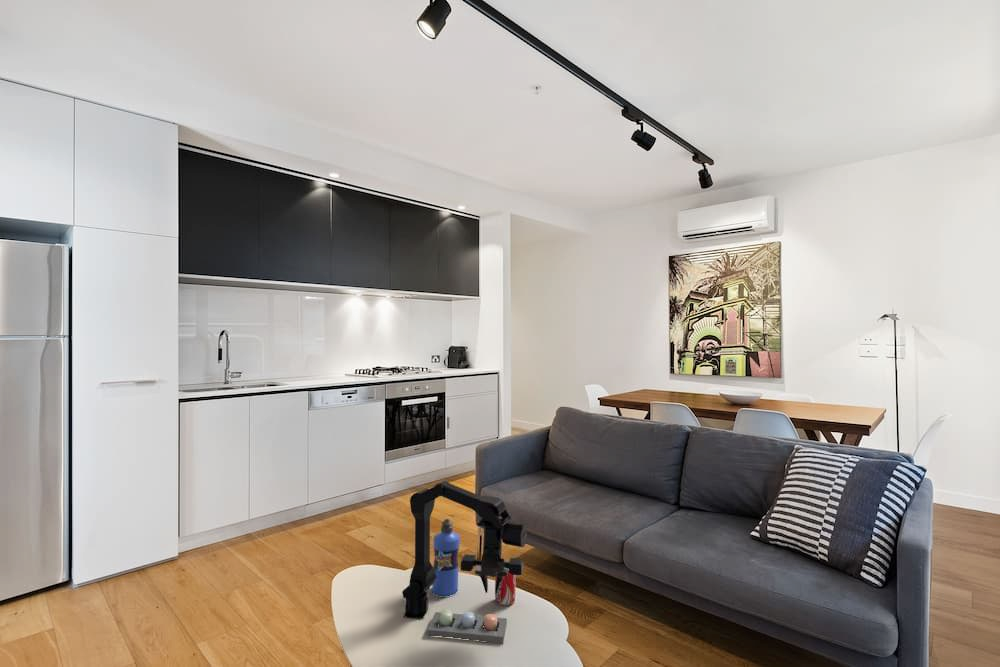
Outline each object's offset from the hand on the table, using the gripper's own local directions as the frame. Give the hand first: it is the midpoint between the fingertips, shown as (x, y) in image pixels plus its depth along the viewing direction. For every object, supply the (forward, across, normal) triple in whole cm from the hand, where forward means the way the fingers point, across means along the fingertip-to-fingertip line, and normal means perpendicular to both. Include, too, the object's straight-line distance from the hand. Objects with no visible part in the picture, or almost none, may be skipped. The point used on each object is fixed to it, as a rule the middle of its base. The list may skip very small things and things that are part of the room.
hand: (491, 592), depth 149 cm
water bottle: (+12, -19, +23) cm, 32 cm away
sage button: (+11, -14, 0) cm, 18 cm away
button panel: (+12, -7, 0) cm, 14 cm away
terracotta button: (+11, 0, 0) cm, 11 cm away
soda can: (+12, +3, +19) cm, 23 cm away
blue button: (+10, -7, 0) cm, 13 cm away
